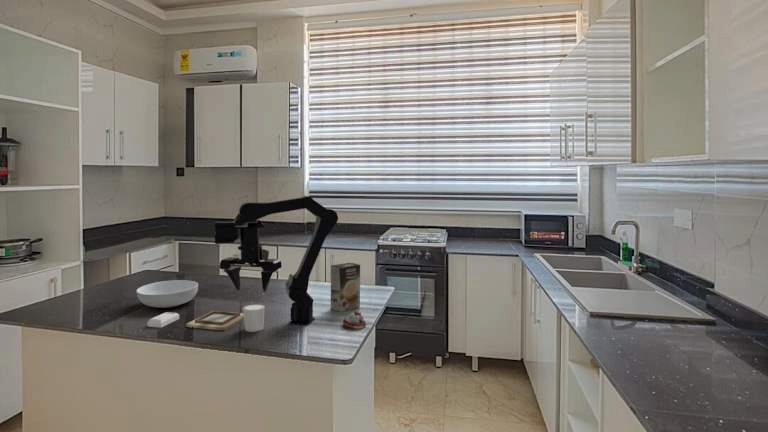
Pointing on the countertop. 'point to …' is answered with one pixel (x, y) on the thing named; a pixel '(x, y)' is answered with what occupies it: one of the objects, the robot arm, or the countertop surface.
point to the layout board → (216, 320)
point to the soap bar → (163, 319)
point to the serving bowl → (167, 293)
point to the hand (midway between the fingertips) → (251, 290)
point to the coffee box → (345, 286)
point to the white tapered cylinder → (254, 317)
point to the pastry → (354, 321)
